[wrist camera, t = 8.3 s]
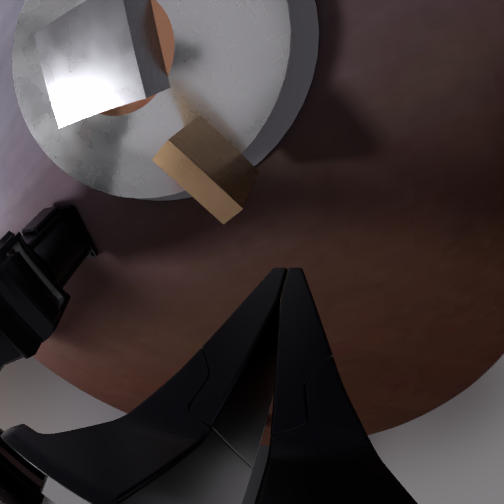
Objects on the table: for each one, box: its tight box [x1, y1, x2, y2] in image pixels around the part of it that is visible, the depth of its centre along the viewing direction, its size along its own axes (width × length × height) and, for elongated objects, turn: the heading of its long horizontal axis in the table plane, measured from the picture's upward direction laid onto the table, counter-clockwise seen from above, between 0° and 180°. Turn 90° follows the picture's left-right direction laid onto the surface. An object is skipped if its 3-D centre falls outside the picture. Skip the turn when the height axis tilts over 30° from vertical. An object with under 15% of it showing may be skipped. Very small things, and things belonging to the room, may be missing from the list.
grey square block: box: [34, 0, 170, 128], centre depth 13 cm, size 7×7×3 cm
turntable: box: [12, 0, 293, 225], centre depth 14 cm, size 22×22×6 cm
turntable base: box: [136, 0, 319, 201], centre depth 16 cm, size 25×25×1 cm
